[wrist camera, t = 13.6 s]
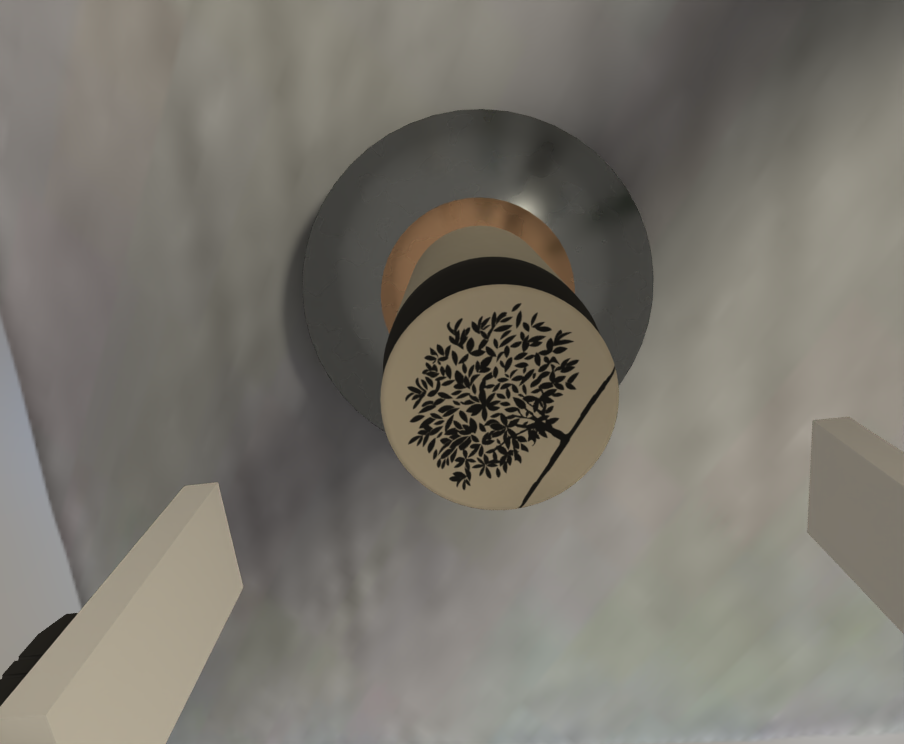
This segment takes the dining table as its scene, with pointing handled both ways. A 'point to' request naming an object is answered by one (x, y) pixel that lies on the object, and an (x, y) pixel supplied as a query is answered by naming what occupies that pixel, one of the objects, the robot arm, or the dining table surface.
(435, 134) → the grey flat disc
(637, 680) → the dining table surface
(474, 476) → the travel mug
